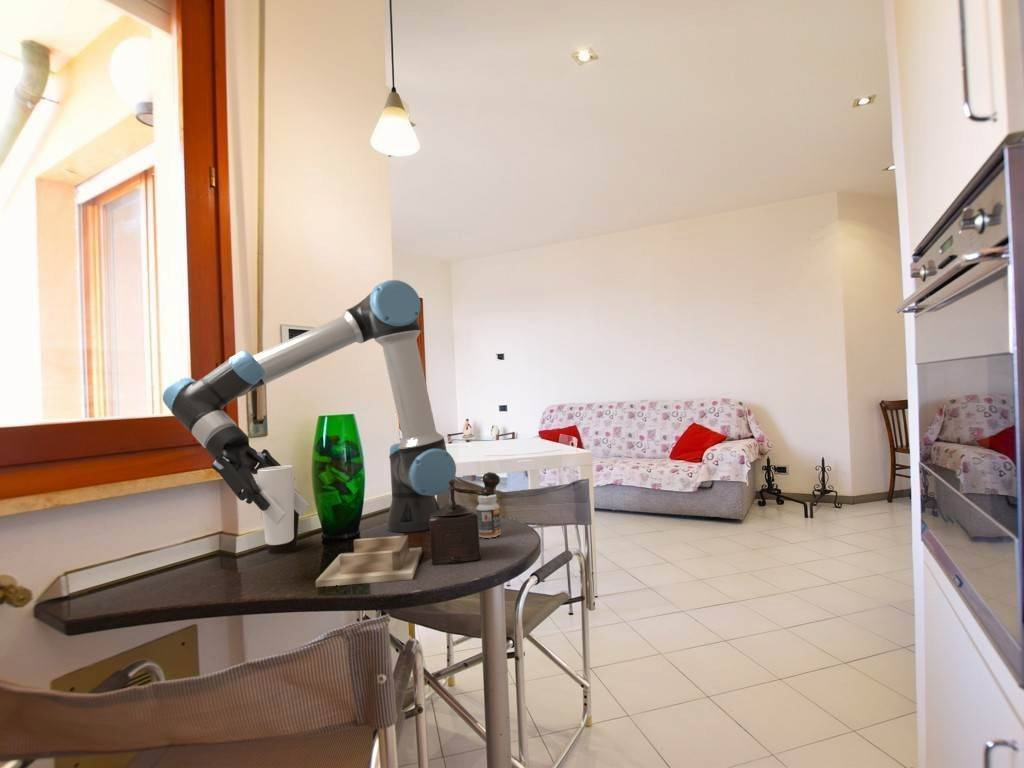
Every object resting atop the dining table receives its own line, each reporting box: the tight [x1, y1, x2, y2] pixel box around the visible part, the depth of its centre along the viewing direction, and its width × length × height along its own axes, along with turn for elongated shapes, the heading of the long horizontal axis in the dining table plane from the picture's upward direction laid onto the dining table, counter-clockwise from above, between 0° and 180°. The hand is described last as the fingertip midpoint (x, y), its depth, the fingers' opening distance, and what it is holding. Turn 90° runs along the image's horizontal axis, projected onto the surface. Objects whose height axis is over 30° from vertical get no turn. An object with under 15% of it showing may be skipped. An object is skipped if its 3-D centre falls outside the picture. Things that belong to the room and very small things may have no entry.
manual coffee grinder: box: [429, 471, 501, 566], centre depth 115 cm, size 16×11×18 cm
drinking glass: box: [256, 464, 296, 545], centre depth 106 cm, size 7×7×15 cm
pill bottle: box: [475, 494, 502, 538], centre depth 130 cm, size 6×6×10 cm
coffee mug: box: [260, 509, 300, 555], centre depth 127 cm, size 12×9×10 cm
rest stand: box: [315, 534, 423, 588], centre depth 109 cm, size 18×18×5 cm
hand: (293, 514), depth 105 cm, fingers closed on drinking glass, 7 cm apart
